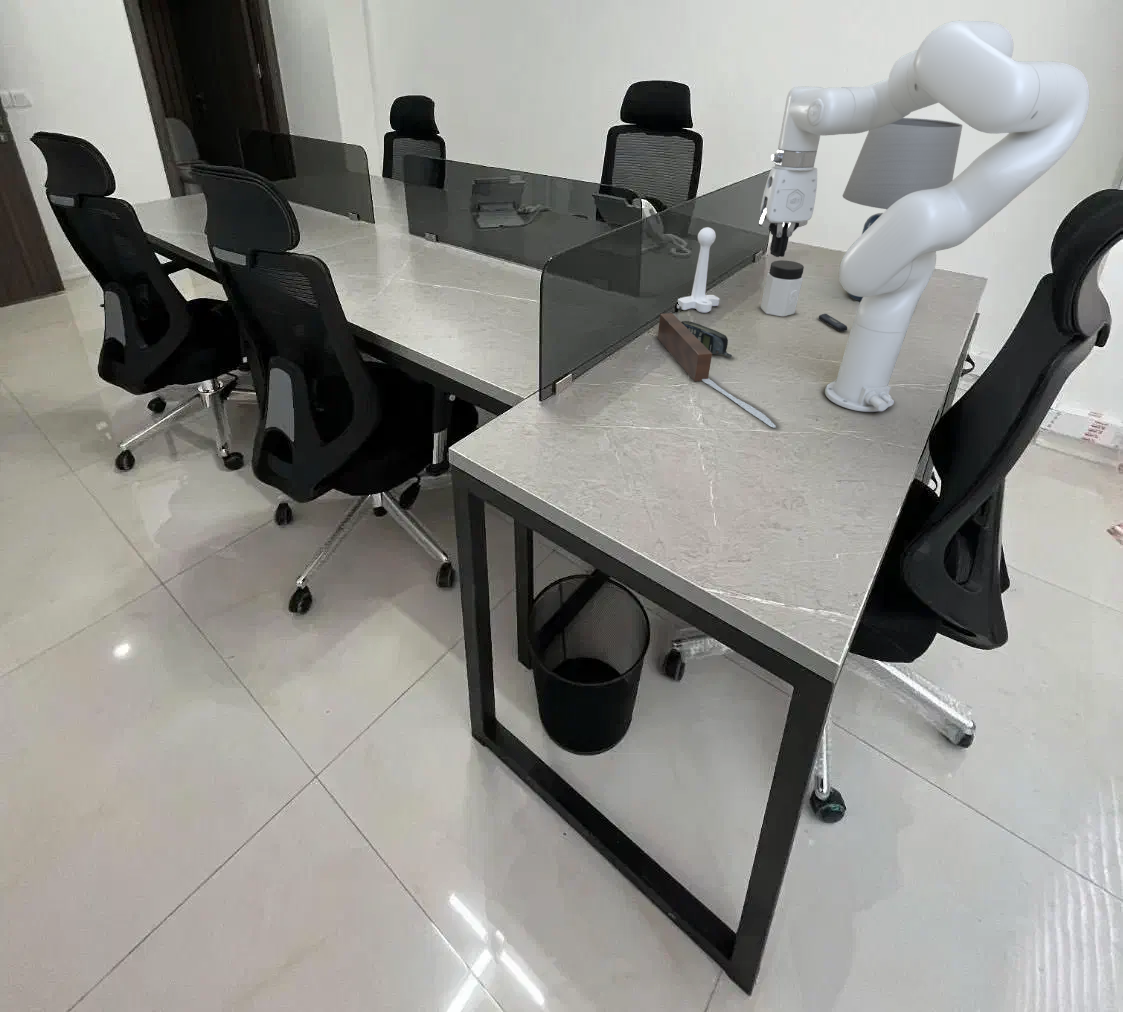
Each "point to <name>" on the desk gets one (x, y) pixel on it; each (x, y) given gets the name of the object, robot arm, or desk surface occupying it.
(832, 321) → the usb stick
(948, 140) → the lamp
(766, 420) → the butter knife
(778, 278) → the jar
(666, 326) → the wooden block
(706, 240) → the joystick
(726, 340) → the mobile phone
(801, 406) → the desk surface
